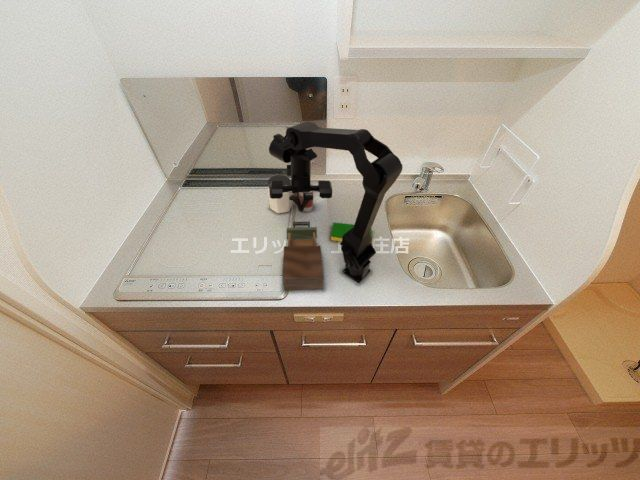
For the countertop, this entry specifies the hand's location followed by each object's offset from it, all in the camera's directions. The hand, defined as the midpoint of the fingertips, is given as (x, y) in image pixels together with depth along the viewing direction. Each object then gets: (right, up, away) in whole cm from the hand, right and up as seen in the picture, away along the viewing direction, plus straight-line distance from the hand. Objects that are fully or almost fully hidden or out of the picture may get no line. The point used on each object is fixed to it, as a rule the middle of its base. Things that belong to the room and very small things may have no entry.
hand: (301, 210), depth 88 cm
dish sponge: (+17, -8, +8) cm, 21 cm away
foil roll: (+1, +3, +18) cm, 19 cm away
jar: (-9, +3, +18) cm, 21 cm away
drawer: (0, -11, +4) cm, 11 cm away
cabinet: (+1, -20, -4) cm, 21 cm away
